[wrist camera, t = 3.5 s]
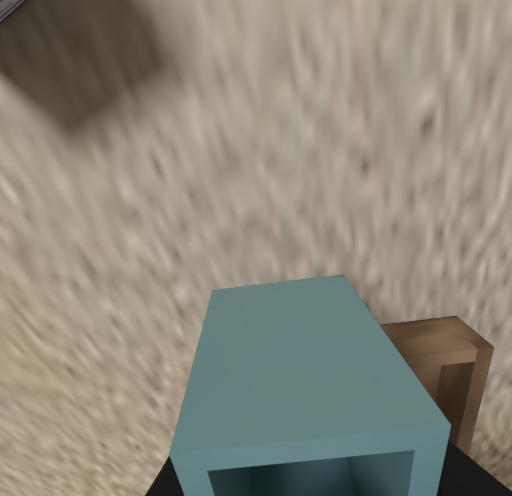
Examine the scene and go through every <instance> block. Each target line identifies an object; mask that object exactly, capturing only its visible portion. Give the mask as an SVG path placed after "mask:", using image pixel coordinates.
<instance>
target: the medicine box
mask: <svg viewBox="0 0 512 496" xmlns="http://www.w3.org/2000/svg"><path fill="white" fill-rule="evenodd" d="M23 1H25V0H0V21H2V20H3V19H4V18H5V17H6V16H7V15H8V14H10V13H11V12H12V11H13V10H14V9H15V8H16V7H18V6H19V5H20V4H21V3H22V2H23Z"/></svg>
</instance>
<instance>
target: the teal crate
mask: <svg viewBox="0 0 512 496" xmlns="http://www.w3.org/2000/svg"><path fill="white" fill-rule="evenodd" d="M450 429H451V424H450V423H449V421H448V420H447V419H446V417H445V416H444V414H443V413H442V412H441V410H440V409H439V407H438V406H437V405H436V403H435V402H434V401H433V399H432V398H431V396H430V395H429V394H428V392H427V391H426V389H425V388H424V387H423V385H422V384H421V382H420V381H419V380H418V378H417V377H416V375H415V374H414V373H413V371H412V370H411V369H410V367H409V366H408V364H407V363H406V362H405V360H404V359H403V357H402V356H401V355H400V353H399V352H398V350H397V349H396V348H395V346H394V345H393V343H392V342H391V341H390V339H389V338H388V336H387V335H386V334H385V332H384V331H383V330H382V328H381V327H380V325H379V324H378V323H377V321H376V320H375V318H374V317H373V316H372V314H371V313H370V311H369V310H368V309H367V307H366V306H365V304H364V303H363V302H362V300H361V299H360V298H359V296H358V295H357V293H356V292H355V291H354V289H353V288H352V286H351V285H350V284H349V282H348V281H347V279H346V278H345V277H344V275H336V276H328V277H319V278H311V279H303V280H294V281H286V282H277V283H269V284H260V285H252V286H243V287H235V288H226V289H218V290H212V294H211V297H210V301H209V305H208V309H207V313H206V316H205V320H204V324H203V328H202V331H201V335H200V339H199V343H198V347H197V350H196V354H195V358H194V362H193V365H192V369H191V373H190V377H189V381H188V384H187V388H186V392H185V396H184V400H183V403H182V407H181V411H180V415H179V418H178V422H177V426H176V430H175V434H174V437H173V441H172V445H171V449H170V452H169V455H170V458H171V461H172V463H173V466H174V469H175V471H176V474H177V477H178V479H179V482H180V485H181V487H182V490H183V493H184V495H185V496H436V495H437V491H438V486H439V481H440V476H441V472H442V467H443V462H444V457H445V453H446V448H447V443H448V438H449V434H450Z"/></svg>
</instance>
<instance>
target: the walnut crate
mask: <svg viewBox="0 0 512 496" xmlns="http://www.w3.org/2000/svg"><path fill="white" fill-rule="evenodd" d="M380 327H381V328H382V330H383V331H384V332H385V334H386V335H387V336H388V338H389V339H390V341H391V342H392V343H393V345H394V346H395V348H396V349H397V350H398V352H399V353H400V355H401V356H402V357H403V359H404V360H405V362H406V363H407V364H408V366H409V367H410V369H411V370H412V371H413V373H414V374H415V375H416V377H417V378H418V380H419V381H420V382H421V384H422V385H423V387H424V388H425V389H426V391H427V392H428V394H429V395H430V396H431V398H432V399H433V401H434V402H435V403H436V405H437V406H438V407H439V409H440V410H441V412H442V413H443V414H444V416H445V417H446V419H447V420H448V421H449V423H450V424H451V429H450V434H449V438H448V439H449V440H450V441H451V442H453V443H454V444H455V445H456V446H457V447H458V448H459V449H460V450H462V451H463V452H464V453H465V454H466V455H467V456H468V452H469V448H470V444H471V440H472V436H473V432H474V428H475V424H476V420H477V415H478V411H479V407H480V403H481V399H482V395H483V391H484V387H485V383H486V379H487V375H488V371H489V366H490V362H491V358H492V354H493V350H494V346H492V345H491V344H490V343H489V342H487V341H486V340H485V339H484V338H483V337H481V336H480V335H479V334H478V333H477V332H475V331H474V330H473V329H472V328H470V327H469V326H468V325H467V324H466V323H464V322H463V321H462V320H461V319H460V318H458V317H457V316H451V317H443V318H435V319H426V320H418V321H410V322H401V323H393V324H385V325H380Z"/></svg>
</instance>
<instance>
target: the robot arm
mask: <svg viewBox="0 0 512 496" xmlns="http://www.w3.org/2000/svg"><path fill="white" fill-rule="evenodd" d="M145 496H185V495H184V493H183V490H182V487H181V485H180V482H179V479H178V477H177V474H176V471H175V469H174V466H173V463H172V461H171V458H170V455H169V457H168V459H167V460H166V462H165V464H164V466H163V467H162V469H161V471H160V472H159V474H158V476H157V477H156V479H155V481H154V482H153V484H152V485H151V487H150V488H149V490H148V492H147V493H146V495H145ZM436 496H512V491H511V490H509V489H508V488H507V487H506V486H504V485H503V484H502V483H500V482H499V481H498V480H497V479H495V478H494V477H493V476H492V475H490V474H489V473H488V472H487V471H486V470H484V469H483V468H482V467H481V466H479V465H478V464H477V463H476V462H475V461H473V460H472V459H471V458H470V457H469V456H467V455H466V454H465V453H464V452H463V451H462V450H460V449H459V448H458V447H457V446H456V445H455V444H454V443H453V442H451V441H450V440H449V439H448V443H447V448H446V453H445V457H444V462H443V467H442V472H441V476H440V481H439V486H438V491H437V495H436Z"/></svg>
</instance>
